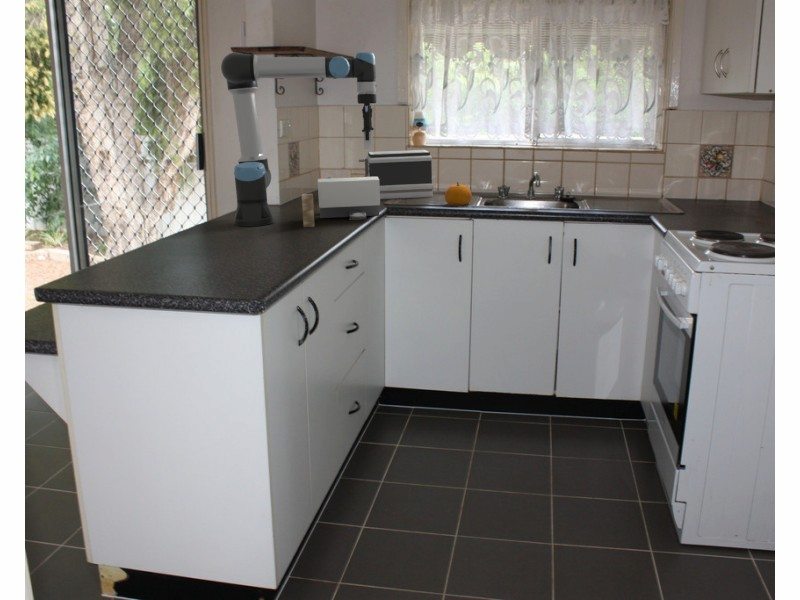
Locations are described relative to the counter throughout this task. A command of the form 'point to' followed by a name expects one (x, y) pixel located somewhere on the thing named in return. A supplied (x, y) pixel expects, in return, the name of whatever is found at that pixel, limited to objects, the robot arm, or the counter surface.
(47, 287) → the counter surface
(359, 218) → the token
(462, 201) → the fruit
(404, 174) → the toaster
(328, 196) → the two-tone white block
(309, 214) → the mottled tan block
